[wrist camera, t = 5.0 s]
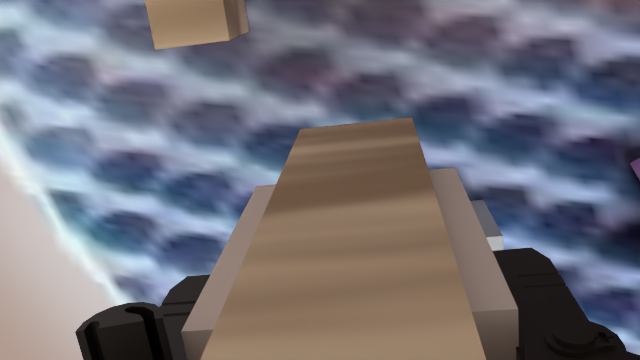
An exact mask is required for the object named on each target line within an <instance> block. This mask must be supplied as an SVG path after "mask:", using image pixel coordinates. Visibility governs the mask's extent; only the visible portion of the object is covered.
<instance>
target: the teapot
mask: <svg viewBox="0 0 640 360" xmlns="http://www.w3.org/2000/svg"><path fill="white" fill-rule="evenodd" d="M630 165H631V166H632V168H633V170H634V172H635V173H636V175H637V177H638V179H639V180H640V158H638V159H636V160H634V161H633V162H631V163H630Z"/></svg>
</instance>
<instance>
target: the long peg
mask: <svg viewBox="0 0 640 360" xmlns="http://www.w3.org/2000/svg"><path fill="white" fill-rule="evenodd" d="M200 360H486V357H485V354H484V351H483V347H482V344H481V341H480V338H479V334H478V331H477V328H476V325H475V321H474V318H473V315H472V312H471V308H470V305H469V302H468V298H467V295H466V292H465V289H464V285H463V282H462V279H461V276H460V272H459V269H458V266H457V263H456V259H455V256H454V253H453V249H452V246H451V243H450V240H449V236H448V233H447V230H446V227H445V223H444V220H443V217H442V214H441V210H440V207H439V204H438V200H437V197H436V194H435V191H434V187H433V184H432V181H431V178H430V174H429V171H428V168H427V165H426V161H425V158H424V155H423V151H422V148H421V145H420V142H419V138H418V135H417V132H416V129H415V125H414V122H413V119H412V117H411V118H402V119H392V120H383V121H373V122H364V123H354V124H344V125H335V126H325V127H316V128H306V129H300V131H299V133H298V136H297V138H296V140H295V142H294V145H293V147H292V149H291V152H290V154H289V156H288V159H287V161H286V163H285V165H284V168H283V170H282V172H281V175H280V177H279V179H278V182H277V184H276V186H275V189H274V191H273V193H272V195H271V198H270V200H269V202H268V205H267V207H266V209H265V212H264V214H263V216H262V218H261V221H260V223H259V225H258V228H257V230H256V232H255V235H254V237H253V239H252V242H251V244H250V246H249V248H248V251H247V253H246V255H245V258H244V260H243V262H242V265H241V267H240V269H239V271H238V274H237V276H236V278H235V281H234V283H233V285H232V288H231V290H230V292H229V295H228V297H227V299H226V301H225V304H224V306H223V308H222V311H221V313H220V315H219V318H218V320H217V322H216V324H215V327H214V329H213V331H212V334H211V336H210V338H209V341H208V343H207V345H206V348H205V350H204V352H203V354H202V357H201V359H200Z"/></svg>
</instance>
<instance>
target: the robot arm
mask: <svg viewBox="0 0 640 360" xmlns="http://www.w3.org/2000/svg"><path fill="white" fill-rule="evenodd" d="M428 171H429V174H430V178H431V181H432V184H433V187H434V191H435V194H436V197H437V200H438V204H439V207H440V210H441V214H442V217H443V220H444V223H445V227H446V230H447V233H448V236H449V240H450V243H451V246H452V249H453V253H454V256H455V259H456V263H457V266H458V269H459V272H460V276H461V279H462V282H463V285H464V289H465V292H466V295H467V298H468V302H469V305H470V308H471V312H472V315H473V318H474V321H475V325H476V328H477V331H478V334H479V338H480V341H481V344H482V347H483V351H484V354H485V357H486V360H640V355H636V354H633V353H630V352H627V351H626V348H625V345H624V344H623V342H622V341H621V340H620V338H619V337H618V335H617V334H615V333H614V332H612V331H611V330H609V329H608V328H606V327H604V326H602V325H599V324H596V323H593V322H590V321H589V320H588V319H587V317H586V316H585V314H584V312H583V311H582V309H581V308H580V306H579V304H578V303H577V301H576V300H575V298H574V297H573V295H572V293H571V292H570V290H569V289H568V287H566V286H565V282H564V281H563V279H562V278H561V276H560V275H558V271H557V270H556V268H555V267H554V265H553V263H552V262H551V260H550V259H549V258H548V257H546V256H544V255H543V254H541V253H539V252H538V251H536V250H534V249H533V248H522V249H509V250H496V251H492V249H491V247H490V245H489V242H488V240H487V238H486V236H485V234H484V231H483V229H482V227H481V225H480V222H479V220H478V218H477V216H476V213H475V211H474V209H473V207H472V204H471V202H470V200H469V198H468V195H467V193H466V191H465V189H464V186H463V184H462V182H461V180H460V177H459V175H458V173H457V171H456V169H455V168H446V169H436V170H428ZM275 186H276V185H266V186H256V188H255V190H254V192H253V194H252V196H251V198H250V200H249V202H248V204H247V206H246V208H245V210H244V211H243V213H242V215H241V217H240V219H239V221H238V223H237V225H236V227H235V229H234V231H233V233H232V235H231V236H230V238H229V240H228V242H227V244H226V246H225V248H224V250H223V252H222V254H221V256H220V258H219V259H218V261H217V263H216V265H215V267H214V269H213V271H212V273H211V275H200V276H187V277H186V278H185V279H184V280H182V281H181V282H180V283H178V284H177V285H176V286H174V287H173V288H172V289H170V291H169V293H168V294H167V296H166V297H165V299H164V301H163V302H162V306H160V307H158V306H156V305H155V304H150V303H145V302H137V303H126V304H122V305H118V306H114V307H111V308H109V309H106V310H104V311H102V312H99V313H97V314H95V315H94V316H92V317H91V318H89V319H88V320H86V321H85V322H84V323H83V324H82V325H81V326H80V327H79V328H78V329H77V331H76V336H77V339H78V342H79V345H80V349H81V352H82V356H83V359H84V360H200V359H201V357H202V354H203V352H204V350H205V348H206V345H207V343H208V341H209V338H210V336H211V334H212V331H213V329H214V327H215V324H216V322H217V320H218V318H219V315H220V313H221V311H222V308H223V306H224V304H225V301H226V299H227V297H228V295H229V292H230V290H231V288H232V285H233V283H234V281H235V278H236V276H237V274H238V271H239V269H240V267H241V265H242V262H243V260H244V258H245V255H246V253H247V251H248V248H249V246H250V244H251V242H252V239H253V237H254V235H255V232H256V230H257V228H258V225H259V223H260V221H261V218H262V216H263V214H264V212H265V209H266V207H267V205H268V202H269V200H270V198H271V195H272V193H273V191H274V189H275Z"/></svg>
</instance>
